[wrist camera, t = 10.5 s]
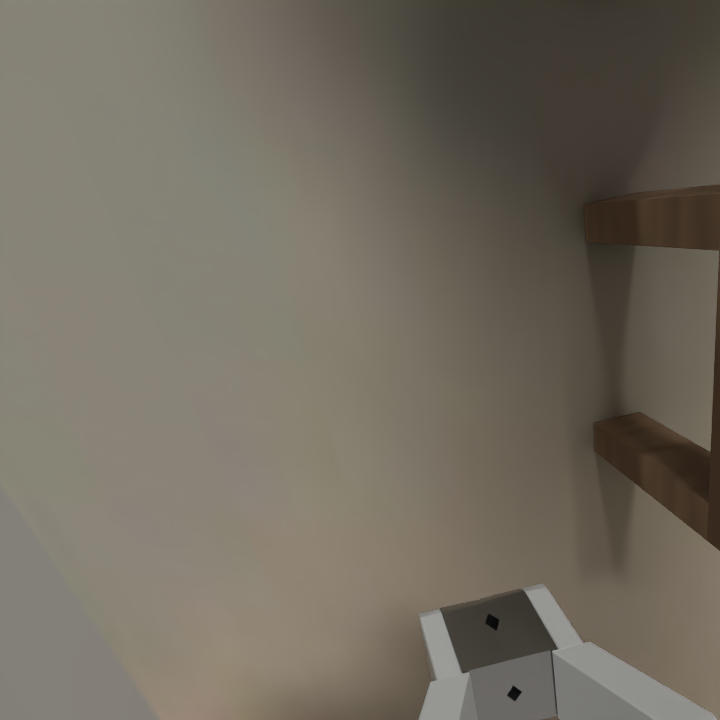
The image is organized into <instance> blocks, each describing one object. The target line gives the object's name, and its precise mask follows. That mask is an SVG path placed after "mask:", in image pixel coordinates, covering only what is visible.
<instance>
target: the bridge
mask: <svg viewBox="0 0 720 720" xmlns="http://www.w3.org/2000/svg"><path fill="white" fill-rule="evenodd" d="M584 214H585V237H586V242H594V243H610V244H625V245H641V246H657V247H673V248H688V249H704V250H719V270H718V293H717V317H716V340H715V363H714V387H713V410H712V434H711V452H709V451H707V450H706V449H704V448H702V447H700V446H699V445H697V444H695V443H693V442H692V441H690V440H688V439H686V438H685V437H683V436H681V435H679V434H677V433H676V432H674V431H672V430H670V429H669V428H667V427H665V426H663V425H662V424H660V423H658V422H656V421H655V420H653V419H651V418H649V417H648V416H646V415H644V414H642V413H641V412H638V413H634V414H630V415H625V416H621V417H617V418H612V419H608V420H604V421H599V422H595V423H594V443H595V452H596V453H598V454H599V455H600V456H602V457H603V458H604V459H605V460H607V461H608V462H609V463H610V464H612V465H613V466H614V467H615V468H617V469H618V470H619V471H620V472H622V473H623V474H624V475H625V476H627V477H628V478H629V479H630V480H632V481H633V482H634V483H635V484H637V485H638V486H639V487H640V488H642V489H643V490H644V491H645V492H647V493H648V494H649V495H651V496H652V497H653V498H654V499H656V500H657V501H658V502H659V503H661V504H662V505H663V506H664V507H666V508H667V509H668V510H669V511H671V512H672V513H673V514H674V515H676V516H677V517H678V518H679V519H681V520H682V521H683V522H684V523H686V524H687V525H688V526H689V527H691V528H692V529H693V530H694V531H696V532H697V533H698V534H700V535H701V536H702V537H703V538H705V539H706V540H707V541H708V542H710V543H711V544H712V545H713V546H715V547H716V548H717V549H718V550H720V185H711V186H701V187H690V188H680V189H670V190H660V191H649V192H639V193H634V194H629V195H624V196H619V197H614V198H610V199H605V200H600V201H595V202H590V203H586V204H584Z"/></svg>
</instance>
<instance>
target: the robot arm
mask: <svg viewBox="0 0 720 720" xmlns="http://www.w3.org/2000/svg"><path fill="white" fill-rule="evenodd" d="M418 617H419V622H420V627H421V632H422V637H423V642H424V647H425V652H426V657H427V661H428V666H429V670H430V675H431V678H432V682H430V684H429V687H428V690H427V694H426V697H425V700H424V703H423V706H422V710H421V713H420V716H419V719H418V720H542V719H546V718H551V717H555V716H558V719H559V720H717V718H716V717H715V716H714V715H713V714H712V713H710V712H709V711H707V710H705V709H704V708H702V707H700V706H698V705H697V704H695V703H693V702H692V701H690V700H688V699H687V698H685V697H683V696H682V695H680V694H678V693H676V692H675V691H673V690H671V689H670V688H668V687H666V686H665V685H663V684H661V683H659V682H658V681H656V680H654V679H653V678H651V677H649V676H648V675H646V674H644V673H643V672H641V671H639V670H637V669H636V668H634V667H632V666H631V665H629V664H627V663H626V662H624V661H622V660H621V659H619V658H617V657H615V656H614V655H612V654H610V653H609V652H607V651H605V650H604V649H602V648H600V647H598V646H597V645H595V644H593V643H592V642H586V643H583V641H582V640H581V638H580V637H579V635H578V634H577V632H576V631H575V629H574V628H573V626H572V625H571V623H570V622H569V620H568V619H567V617H566V616H565V614H564V613H563V611H562V610H561V608H560V607H559V605H558V604H557V602H556V601H555V599H554V598H553V596H552V594H551V593H550V591H549V590H548V588H547V587H546V586H545V585H544V584H542V583H541V584H537V585H533V586H529V587H525V588H521V589H516V590H512V591H508V592H505V593H501V594H497V595H493V596H489V597H485V598H481V599H480V600H475V601H470V602H466V603H461V604H457V605H452V606H447V607H443V608H440V610H439V609H435V610H431V611H426V612H422V613H418Z"/></svg>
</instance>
